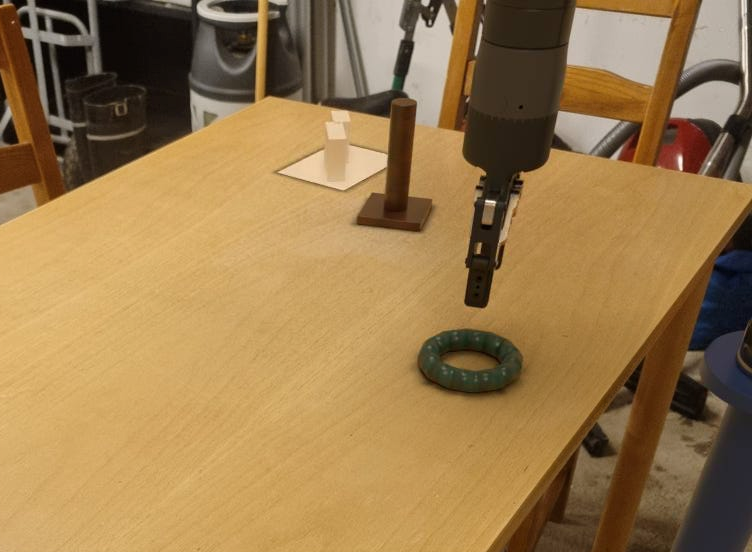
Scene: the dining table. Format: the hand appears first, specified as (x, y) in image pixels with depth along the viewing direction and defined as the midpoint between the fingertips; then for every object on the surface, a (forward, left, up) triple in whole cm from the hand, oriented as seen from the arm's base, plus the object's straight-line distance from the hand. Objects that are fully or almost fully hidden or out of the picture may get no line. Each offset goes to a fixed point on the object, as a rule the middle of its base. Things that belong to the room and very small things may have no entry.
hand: (482, 286), depth 90 cm
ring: (0, +4, -6) cm, 7 cm away
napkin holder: (+26, -46, -7) cm, 53 cm away
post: (+15, -31, -7) cm, 35 cm away
